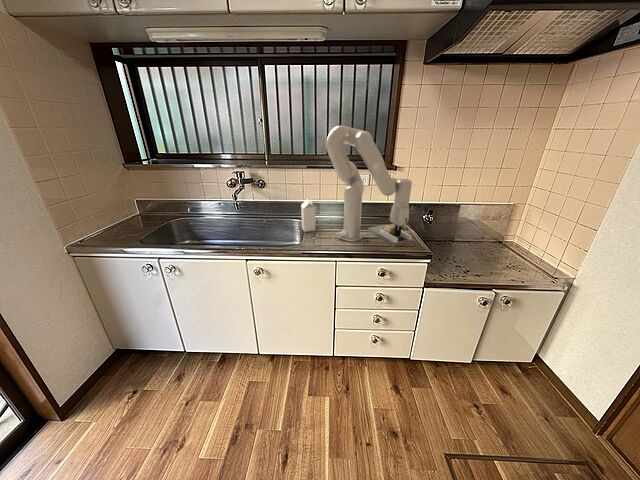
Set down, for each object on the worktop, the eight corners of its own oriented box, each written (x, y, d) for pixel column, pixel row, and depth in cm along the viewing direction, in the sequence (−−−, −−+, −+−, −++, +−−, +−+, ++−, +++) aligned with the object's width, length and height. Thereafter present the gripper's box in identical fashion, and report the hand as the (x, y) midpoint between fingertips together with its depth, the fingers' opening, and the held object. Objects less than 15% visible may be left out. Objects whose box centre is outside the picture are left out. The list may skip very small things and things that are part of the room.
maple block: (389, 236, 143) (390, 228, 141) (384, 233, 147) (385, 225, 145) (396, 235, 145) (397, 226, 143) (391, 232, 149) (392, 224, 147)
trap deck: (393, 246, 135) (394, 239, 133) (367, 230, 156) (368, 224, 154) (411, 243, 140) (412, 235, 138) (383, 227, 161) (384, 221, 159)
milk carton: (304, 232, 155) (303, 201, 147) (301, 228, 161) (300, 198, 154) (315, 230, 157) (315, 200, 149) (312, 226, 163) (312, 197, 156)
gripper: (386, 200, 138) (383, 232, 145) (405, 208, 125) (400, 242, 133) (397, 199, 141) (394, 230, 148) (417, 206, 128) (412, 239, 135)
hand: (397, 235), depth 140 cm, fingers closed
